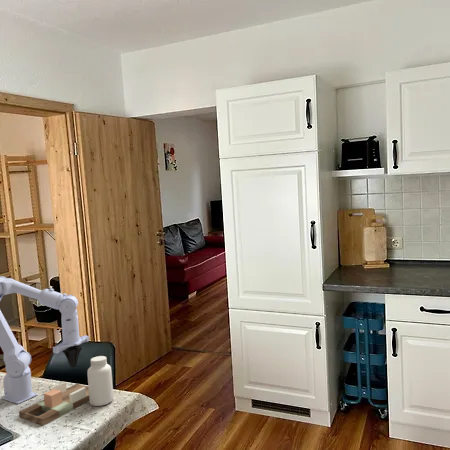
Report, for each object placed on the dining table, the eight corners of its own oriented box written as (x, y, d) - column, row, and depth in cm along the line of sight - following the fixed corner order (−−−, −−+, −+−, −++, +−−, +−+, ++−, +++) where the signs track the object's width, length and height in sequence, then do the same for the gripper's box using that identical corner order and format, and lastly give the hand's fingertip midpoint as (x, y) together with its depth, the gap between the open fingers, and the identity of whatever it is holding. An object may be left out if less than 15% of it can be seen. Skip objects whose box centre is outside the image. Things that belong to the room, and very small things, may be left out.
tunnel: (49, 397, 153) (49, 388, 153) (64, 390, 158) (63, 381, 158) (72, 403, 147) (71, 394, 147) (86, 396, 152) (85, 387, 152)
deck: (19, 417, 144) (19, 411, 144) (77, 388, 164) (77, 383, 164) (43, 425, 137) (42, 419, 137) (100, 395, 158) (100, 389, 157)
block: (44, 405, 147) (43, 393, 147) (54, 400, 150) (53, 388, 150) (52, 407, 145) (51, 395, 145) (62, 402, 148) (61, 391, 148)
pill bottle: (113, 404, 149) (109, 360, 148) (88, 408, 147) (84, 363, 147) (114, 395, 157) (110, 353, 156) (90, 398, 155) (87, 356, 155)
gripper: (61, 336, 152) (64, 375, 153) (93, 325, 164) (96, 361, 165) (47, 334, 155) (50, 372, 156) (80, 323, 168) (83, 358, 169)
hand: (73, 366), depth 161 cm, fingers closed
